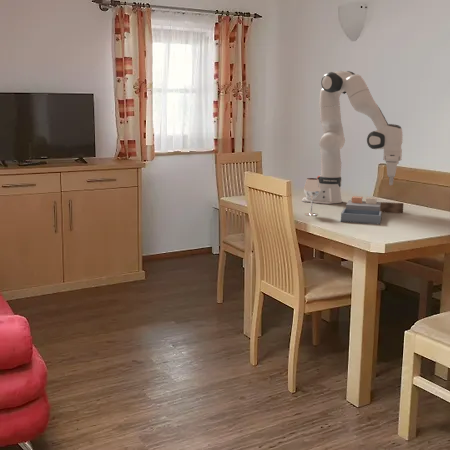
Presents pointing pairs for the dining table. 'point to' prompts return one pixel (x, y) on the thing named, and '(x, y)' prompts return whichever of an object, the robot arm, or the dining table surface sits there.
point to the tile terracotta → (357, 199)
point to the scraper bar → (391, 207)
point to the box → (361, 216)
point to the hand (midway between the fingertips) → (391, 183)
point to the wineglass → (312, 191)
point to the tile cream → (371, 200)
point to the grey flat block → (363, 206)
